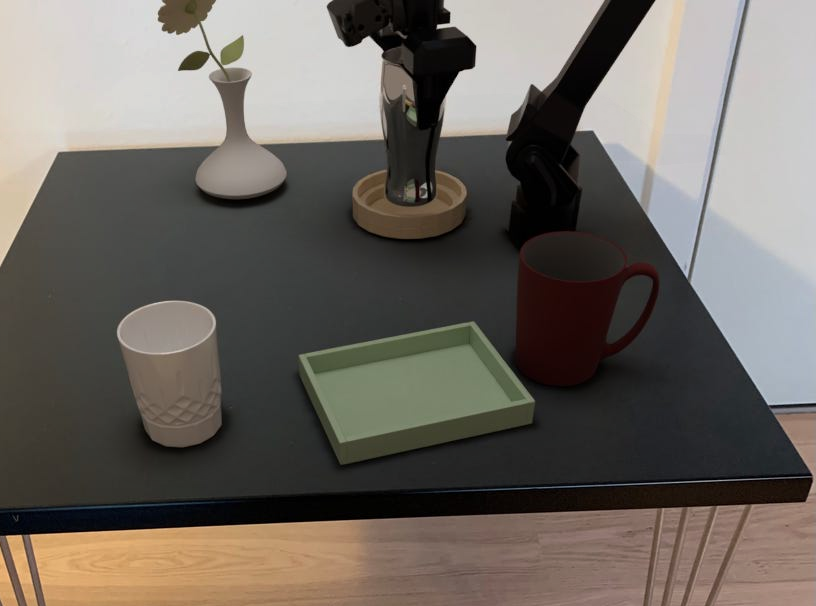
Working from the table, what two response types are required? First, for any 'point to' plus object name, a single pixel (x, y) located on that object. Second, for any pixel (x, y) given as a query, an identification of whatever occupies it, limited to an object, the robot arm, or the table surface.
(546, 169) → the robot arm
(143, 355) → the white cup
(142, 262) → the table surface
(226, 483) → the table surface
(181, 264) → the table surface
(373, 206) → the round tan dish
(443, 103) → the polished metal tumbler
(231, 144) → the flower in vase
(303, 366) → the tray
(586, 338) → the mug
